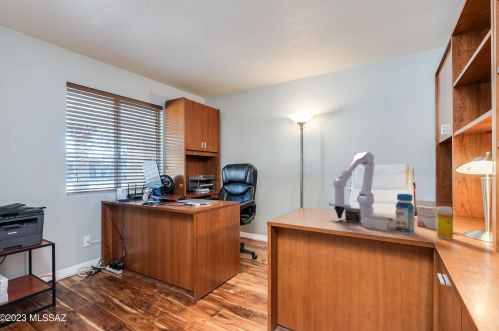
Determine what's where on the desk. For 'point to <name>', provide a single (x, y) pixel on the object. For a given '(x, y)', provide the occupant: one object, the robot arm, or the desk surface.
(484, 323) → the desk surface
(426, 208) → the ink cartridge box
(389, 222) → the bracket
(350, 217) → the electrical switch
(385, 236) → the desk surface
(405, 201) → the blue pill bottle
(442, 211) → the white lidded yellow container
